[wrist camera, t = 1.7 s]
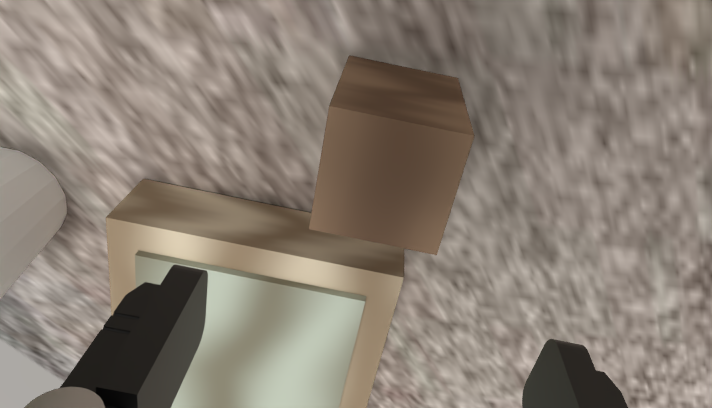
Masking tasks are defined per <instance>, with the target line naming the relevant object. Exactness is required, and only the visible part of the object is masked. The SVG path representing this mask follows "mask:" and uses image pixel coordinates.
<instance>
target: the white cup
mask: <svg viewBox="0 0 712 408" xmlns="http://www.w3.org/2000/svg"><path fill="white" fill-rule="evenodd" d="M66 215H67V204H66V196H65V194H64V192H63V190H62V188H61V186H60V184H59V182H58V181H57V179H56V177H55V176H54V175H53V174H52V173H51V172H50V171H49V170H48V169H47V168H46V167H45V166H44V165H43V164H42V163H41V162H39V161H38V160H36V159H34V158H32V157H30V156H28V155H26V154H25V153H23V152H21V151H18V150H13V149H8V148H3V147H0V299H1V298H2V297H3V296H4V294H5V293H6V292H7V291H8V290H9V288H10V287H11V286H12V285H13V284H14V282H15V281H16V280H17V279H18V278H19V277H20V275H21V274H22V273H23V272H24V271H25V269H26V268H27V267H28V266H29V265H30V263H31V262H32V261H33V260H34V259H35V257H36V256H37V255H38V254H39V253H40V252H41V250H42V249H43V248H44V247H45V246H46V244H47V243H48V242H49V241H50V240H51V238H52V237H53V236H54V235H55V234H56V232H57V231H58V230H59V229H60V228H61V227H62V224H63V222H64V219H65V217H66Z"/></svg>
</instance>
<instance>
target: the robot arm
mask: <svg viewBox="0 0 712 408" xmlns="http://www.w3.org/2000/svg"><path fill="white" fill-rule="evenodd" d="M207 285H208V272H207V271H206V270H201V269H196V268H191V267H186V266H181V265H176V264H175V265H173V266H172V267H171V269H170V270H169V272H168V273H167V275H166V276H165V278H164V280H163V281H162V283H161V284H160V285H159V284H153V283H148V282H144V283H143V284H141V285H140V286H138V287H137V288H135V289H134V290H132V291H131V292H129V293H128V294H126V295H125V297H124V298H123V299H122V301H121V302H120V304H119V305H118V307H117V308H116V309H115V311H114V313H113V316H112V315H111V316H110V318H109V319H108V321H107V322H106V324H105V325H104V328H103V330H101V331H100V332H99V334H98V335H97V336H96V338H95V339H94V341H93V342H92V343H91V345H90V346H89V348H88V349H87V351H86V352H85V353H84V355H83V356H82V358H81V359H80V361H79V362H78V363H77V365H76V366H75V368H74V369H73V370H72V372H71V373H70V375H69V376H68V378H67V379H66V380H65V382H64V383H63V384H62V386H61V387H60V388H58V389H54V390H52V391H49V392H46V393H44V394H42V395H40V396H38V397H37V398H35V399H34V400H32V401H31V402H30V403H29V404H27V405H26V406H25V407H24V408H171V406H172V404H173V402H174V400H175V397H176V395H177V393H178V391H179V389H180V386H181V384H182V382H183V380H184V378H185V375H186V373H187V371H188V369H189V367H190V365H191V362H192V360H193V358H194V356H195V354H196V351H197V349H198V347H199V344H200V342H201V339H202V335H203V331H204V326H205V319H206V302H207ZM522 406H523V408H628V407H627V404H626V402H625V400H624V398H623V395H622V393H621V391H620V390H619V389H618V388H617V387H616V386H615V384H614V383H613V382H612V381H611V380H610V379H609V377H608V376H607V375H606V374H605V373H604V372H600V371H596V370H595V367H594V365H593V363H592V360H591V358H590V355H589V353H588V351H587V349H586V348H585V347H584V346H583V345H579V344H574V343H569V342H564V341H559V340H554V339H550V340H548V341H547V342H546V343H545V345H544V347H543V349H542V351H541V353H540V355H539V357H538V359H537V361H536V363H535V365H534V367H533V369H532V371H531V373H530V375H529V377H528V379H527V381H526V383H525V386H524V390H523V398H522Z"/></svg>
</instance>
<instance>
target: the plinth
mask: <svg viewBox="0 0 712 408" xmlns="http://www.w3.org/2000/svg"><path fill="white" fill-rule="evenodd" d="M310 219H311V213H309V212H304V211H299V210H294V209H289V208H284V207H280V206H275V205H270V204H265V203H260V202H255V201H250V200H245V199H240V198H235V197H230V196H226V195H221V194H216V193H211V192H206V191H201V190H196V189H191V188H186V187H181V186H176V185H172V184H167V183H162V182H157V181H152V180H147V179H143V180H142V181H141V182H140V183H139V184H138V185H137V186H136V187H135V188H134V189H133V190H132V191H131V192H130V193H129V194H128V195H127V196H126V197H125V198H124V199H123V200H122V201H121V202H120V203H119V204H118V205H117V206H116V208H115V209H114V210H113V211H112V212H111V213H110V214H109V215H108V216H107V217H106V229H107V246H108V263H109V280H110V297H111V314H112V316H113V313H114V311H115V309H116V308H117V307H118V305H119V304H120V302H121V301H122V299H123V298H124V297H125V295H126V294H128V293H129V292H131V291H132V290H134V289H135V288H137V287H138V286H140V285H141V284H143V283H144V282H148V283H153V284H159V285H160V284H161V283H162V281H163V280H164V278H165V276H166V275H167V273H168V272H169V270H170V269H171V267H172V266H173V265H175V264H176V265H181V266H186V267H191V268H196V269H201V270H206V271H207V272H208V285H207V302H206V319H205V326H204V331H203V335H202V339H201V342H200V344H199V347H198V349H197V351H196V354H195V356H194V358H193V360H192V362H191V365H190V367H189V369H188V371H187V373H186V375H185V378H184V380H183V382H182V384H181V386H180V389H179V391H178V393H177V395H176V397H175V400H174V402H173V404H172V406H171V408H366V407H367V404H368V400H369V397H370V393H371V390H372V386H373V383H374V380H375V376H376V373H377V369H378V366H379V362H380V359H381V355H382V352H383V348H384V345H385V341H386V338H387V334H388V331H389V327H390V324H391V320H392V317H393V314H394V310H395V307H396V303H397V300H398V296H399V293H400V289H401V286H402V282H403V279H404V248H400V247H395V246H390V245H385V244H380V243H375V242H370V241H365V240H360V239H355V238H350V237H345V236H340V235H336V234H331V233H326V232H321V231H316V230H311V229H309V225H310Z"/></svg>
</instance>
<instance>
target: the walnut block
mask: <svg viewBox="0 0 712 408" xmlns="http://www.w3.org/2000/svg"><path fill="white" fill-rule="evenodd" d="M473 139H474V133H473V129H472V126H471V122H470V119H469V115H468V112H467V108H466V105H465V101H464V98H463V94H462V91H461V87H460V84H459V81H458V78H455V77H450V76H445V75H440V74H436V73H431V72H426V71H421V70H416V69H412V68H407V67H402V66H397V65H392V64H388V63H383V62H378V61H373V60H368V59H364V58H359V57H354V56H349V57H348V60H347V62H346V65H345V68H344V70H343V73H342V75H341V78H340V80H339V83H338V85H337V88H336V90H335V93H334V95H333V98H332V100H331V103H330V105H329V111H328V117H327V123H326V129H325V135H324V141H323V147H322V153H321V159H320V165H319V171H318V177H317V183H316V189H315V195H314V201H313V207H312V213H311V219H310V225H309V229H311V230H316V231H321V232H326V233H331V234H336V235H340V236H345V237H350V238H355V239H360V240H365V241H370V242H375V243H380V244H385V245H390V246H395V247H400V248H405V249H410V250H414V251H419V252H424V253H429V254H434V255H437V252H438V249H439V246H440V243H441V240H442V236H443V233H444V230H445V227H446V224H447V221H448V218H449V214H450V211H451V208H452V205H453V202H454V199H455V196H456V192H457V189H458V186H459V183H460V180H461V177H462V174H463V170H464V167H465V164H466V161H467V158H468V155H469V151H470V148H471V145H472V142H473Z"/></svg>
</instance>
